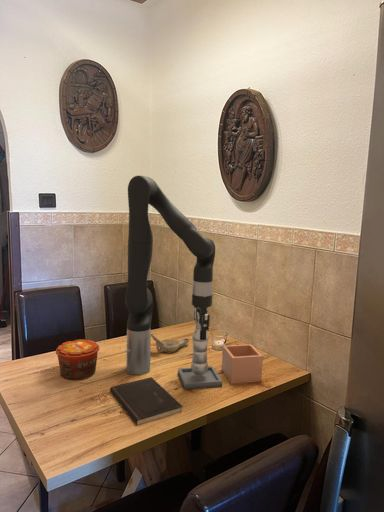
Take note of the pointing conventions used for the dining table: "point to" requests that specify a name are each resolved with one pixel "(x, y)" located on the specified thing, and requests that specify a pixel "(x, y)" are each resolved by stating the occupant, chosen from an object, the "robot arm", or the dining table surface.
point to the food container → (77, 359)
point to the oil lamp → (169, 344)
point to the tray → (199, 378)
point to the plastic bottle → (199, 352)
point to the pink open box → (242, 363)
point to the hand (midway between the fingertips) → (200, 336)
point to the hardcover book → (145, 400)
